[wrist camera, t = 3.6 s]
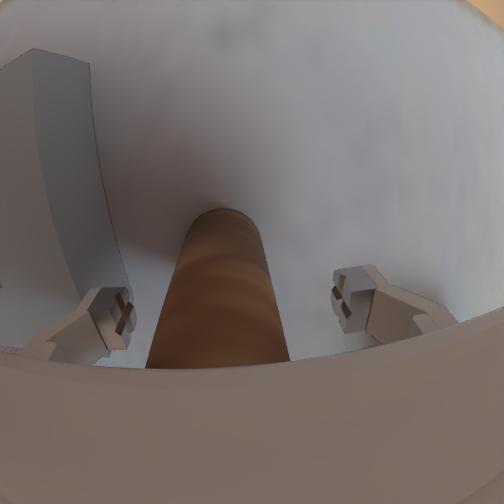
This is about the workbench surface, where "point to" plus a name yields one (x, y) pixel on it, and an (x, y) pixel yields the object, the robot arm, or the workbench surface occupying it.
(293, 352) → the workbench surface
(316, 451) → the robot arm
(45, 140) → the socket block
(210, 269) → the pin
